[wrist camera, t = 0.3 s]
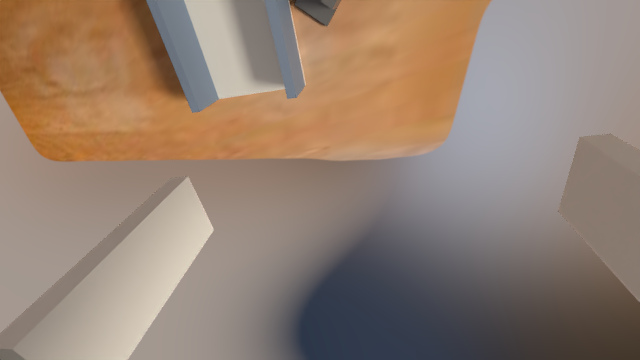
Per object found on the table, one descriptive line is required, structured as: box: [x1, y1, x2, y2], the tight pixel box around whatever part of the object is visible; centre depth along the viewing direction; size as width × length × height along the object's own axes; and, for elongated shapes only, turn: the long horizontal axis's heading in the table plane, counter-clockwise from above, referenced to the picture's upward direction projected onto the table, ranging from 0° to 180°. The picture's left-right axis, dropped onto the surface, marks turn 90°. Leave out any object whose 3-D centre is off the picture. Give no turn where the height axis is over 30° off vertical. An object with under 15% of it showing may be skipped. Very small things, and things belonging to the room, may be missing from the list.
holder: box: [146, 0, 306, 113], centre depth 31 cm, size 14×12×6 cm
